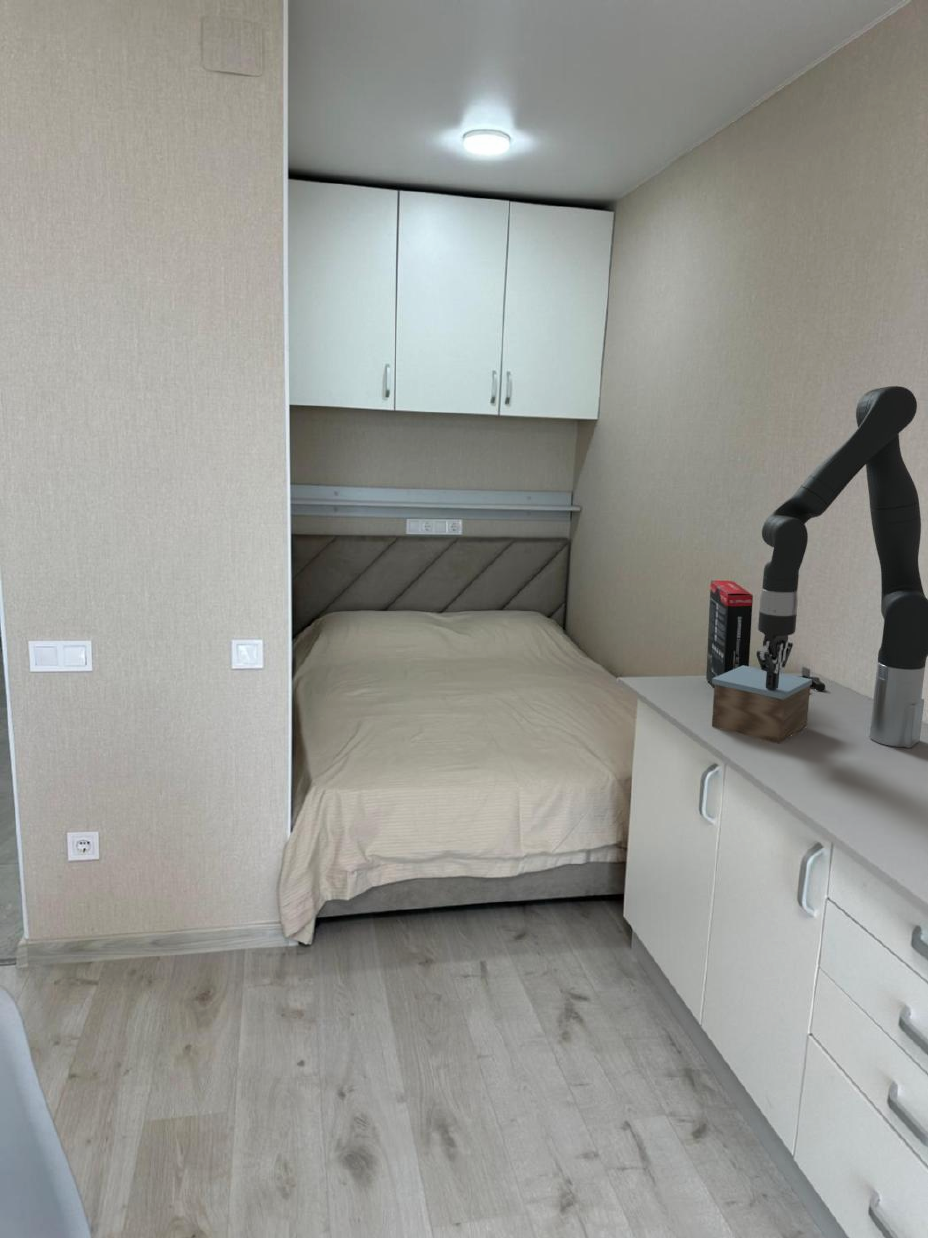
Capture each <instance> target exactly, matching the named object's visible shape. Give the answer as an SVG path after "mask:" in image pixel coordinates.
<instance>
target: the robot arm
mask: <svg viewBox="0 0 928 1238" xmlns="http://www.w3.org/2000/svg"><path fill="white" fill-rule="evenodd" d="M858 400H859V401H858V402H857V405H856V409H855V418H856V419H855V420H856V424H857V425H856V426H857V429H856V430H855V431H854V432H853V433H852V435H851V436H850V437H849V438H848V439H847V440H846V441H845V442H844V443H843V444H842V445H841V446H840V447H838V448H837V449H836V450H835V451H834V452H833V453H831V454H830V455H828V457H826V459H824V460H823V461H822V462H821V463H820V464H819V465H818V466H817V467H816V468H815V469H814V470H813V471H812V472H811V473H810V475H809V476H807V478H806V479H805V480H804V481H803V483H802V484H801V485H800V487H799V488H798V489H797V491H795V493H794V494H793V495H792V496H790V498H788V499H786V501H784V502H783V503H782V504H781V505H780V506H778V507H777V508H776V509H775V510H774V511H772V513H771V514H770V515H769V516H768V517H767V519H766V520H765V522H764V523H763V526H762V529H761V538H762V540H763V541H764V543H765V544H766V545H767V546H769V547H771V548H773V552H772V556H771V560H770V561H768V562H766V564H765V565H764V568H763V575H762V588H761V595H760V599H759V612H758V623H757V625H758V626H757V629H758V631H759V632H760V633H762V634H763V635H764V637H763V641H762V649H761V650H757V651H756V657H757V661H758V664H759V666H760V669H762V670H763V671H766V672H767V675H766V688H767V689H770V690H775V689H777V688H778V684H779V673H782V669H783V668H785V667H786V665H787V663H788V659H789V657H790V655H791V651H792V649H793V646H794V643H793V642H789V636H791V635H793V634H795V632H796V628H797V627H796V626H797V615H798V614H797V613H798V603H799V599H798V588H799V577H800V573H799V572H800V569H801V566H802V564H803V560H804V557H805V554H806V550H807V546H808V543H809V542H808V541H809V539H808V536H809V535H808V534H809V533H808V529H807V527H806V523H808V521H809V520H811V519H814V518H818V517H820V516H822V515H823V514H824V513H825V512H826V511H827V509H828V508H829V507H830V506H831V505H832V504H833V502H834V501H836V499H837V497H839V495H840V494H841V493H842V492H843V491H844V490H845V488H847V486H848V484H849V483H850V482H851V481H852V480H853V479H854V478H855V476H857V474H858V473H860V471H861V470H862V469H863V468H864V467H866V469H865V471H866V479H867V480H866V481H867V488H868V497H869V510H870V511H869V512H870V519H871V527H872V532H873V537H874V543H875V548H876V553H877V556H878V560H879V564H880V574H881V575H880V576H881V577H880V578H881V592H880V593H881V600H880V601H881V602H880V603H881V605H880V611H881V616H882V618H883V627H882V628H883V629H882V630H883V631H882V639H881V644H880V648H879V650H878V653H877V664H876V672H875V679H874V680H875V682H874V683H875V684H874V691H873V700H872V701H873V702H872V710H871V711H872V712H871V718H870V720H871V721H870V728H869V738H870V739H871V740H872V741H874V742H876V743H878V744H882V745H884V746H885V745H886V746H890V747H896V748H897V747H899V748H902V747H903V748H908V749H911V748H912V747H914V746H915V745H916V744H918V743H919V742H920V740H921V732H922V723H923V714H924V707H925V699H924V698H922V697H923V689H924V688H923V687H924V679H925V671H926V670H925V669H926V663H927V658H928V598H927V597H926V595H925V592H924V589H923V584H922V580H921V578H922V577H921V574H920V567H919V553H920V545H921V535H922V518H921V517H922V516H921V507H920V499H919V494H918V491H917V487H916V485H915V482H914V480H913V479H912V476H911V474H910V472H909V470H908V468H907V466H906V463H905V461H904V458H903V456H902V452H901V447H900V433H901V432H902V431H903V430H904V429H905V428H907V427H908V426H909V425H910V424H911V422H913V419H914V418H915V417H916V413H917V409H918V403H917V399H916V397H915V395H914V393H913V392H912V391H911V390H910V389H908V388H906V387H904V386H900V385H899V386H898V385H894V386H892V385H891V386H884V387H878V388H874V389H870V390H869V391H867V392H865V393H864V394H863V395H862V396H861V397H860V399H858Z"/></svg>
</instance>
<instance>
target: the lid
mask: <svg viewBox="0 0 928 1238" xmlns="http://www.w3.org/2000/svg"><path fill="white" fill-rule="evenodd" d="M766 675H767V672H766V671H763V670H762V669H761V668H758V667H752V666H750V665H749V666H744V665H743V666H740V667H738V668H736V669H733V670H731V671H729V672H726V673H724V674H722V675H719V676H717V677H715V678H712V684H716V685H720V686H725V687H729V688H734V689H738V690H743V691H747V692H752V693H756V694H761V695H765V696H770V697H774V698H779V699H785V698H787V697H789V696H791V695H792V694H794V693H796V692H798V691H800V690H802V689H804V688H806V687H808V686H810V685H812V679H808V678H803V677H798V676H799V675H792V674H787V673H783V672H779V684H778V688H777V689H775V690H770V689H767V688H766Z"/></svg>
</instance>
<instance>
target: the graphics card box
mask: <svg viewBox="0 0 928 1238" xmlns="http://www.w3.org/2000/svg"><path fill="white" fill-rule="evenodd" d="M709 585H710V586H709V587H710V590H709V606H708V607H709V611H708V632H707V634H708V635H707V653H706V654H707V655H706V677H705V678H706V680H707V682H708V683H709V684H710V686H712V688H713V689H714V684H712V678H715V677H717V676H719V675H722V674H724V673H726V672H729V671H731V670H733V669H736V668H738V667H740V666H743V665H744V666H749V667H750V653H751V638H752V637H751V636H752V619H753V617H752V616H753V603H754V601H753V599H754V595H753V594H751V592H749V591H747V590H746V589H745V588H743V587H741V586H740V585H739V584H737V582H735V581H733V580H710V584H709Z"/></svg>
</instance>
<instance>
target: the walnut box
mask: <svg viewBox="0 0 928 1238" xmlns="http://www.w3.org/2000/svg"><path fill="white" fill-rule="evenodd" d="M810 693H811V688H810V686H808V687H806V688H804V689H802V690H800V691H798V692H796V693H794V694H792V695H791V696H789V697H787V698H785V699H779V698H774V697H770V696H765V695H761V694H756V693H752V692H747V691H743V690H738V689H734V688H729V687H725V686H720V685H716V684H714V688H713V701H712V703H713V704H712V720H711V727H713V728H718V729H721V730H725V731H730V732H733V733H737V734H739V735H740V734H741V735H744V736H748V737H751V738H752V737H753V738H757V739H760V740H763V741H764V740H765V741H768V742H772V743H775V742H777V743H776V744H781V743H783V742H784V741H786V740H787V738H788V739H789V738H791V737H792V736H791V735H793V734H794V735H796V734H797V732H798V731H799V732H801V731H803V730H804V729H803V728H805V727H806V726H808V715H809V714H808V713H809V706H810V705H809V704H810ZM806 728H807V727H806ZM806 728H805V729H806ZM802 729H803V730H802ZM800 730H801V731H800ZM799 732H798V733H799ZM795 733H796V734H795ZM794 735H793V736H794ZM790 736H791V737H790ZM780 742H781V743H780Z"/></svg>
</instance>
